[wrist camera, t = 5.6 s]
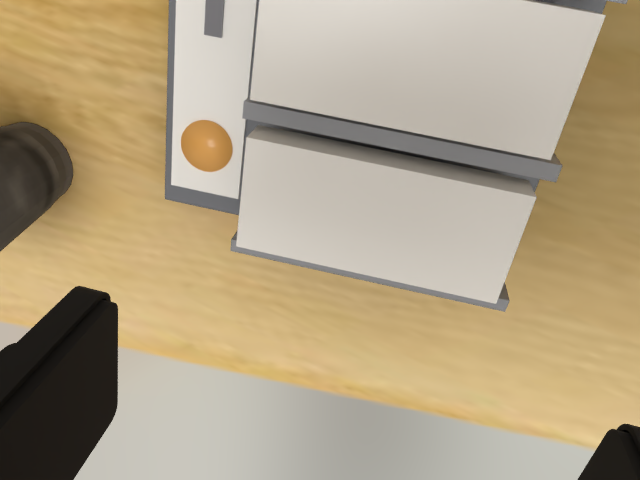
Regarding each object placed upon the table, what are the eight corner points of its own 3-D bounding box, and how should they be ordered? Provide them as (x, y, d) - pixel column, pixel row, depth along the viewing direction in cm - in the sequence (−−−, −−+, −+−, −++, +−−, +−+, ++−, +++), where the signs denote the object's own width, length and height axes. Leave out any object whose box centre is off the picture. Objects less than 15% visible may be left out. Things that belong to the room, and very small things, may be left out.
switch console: (681, -223, 19) (755, -273, 15) (501, 262, 29) (515, 316, 24) (186, -298, 20) (124, -363, 16) (172, 191, 30) (131, 230, 26)
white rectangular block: (584, 8, 20) (605, 15, 18) (537, 139, 22) (550, 160, 20) (281, -47, 21) (263, -47, 18) (266, 85, 23) (250, 99, 21)
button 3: (525, 173, 23) (536, 197, 21) (489, 272, 25) (496, 303, 23) (263, 120, 24) (246, 137, 22) (252, 221, 26) (236, 246, 24)
